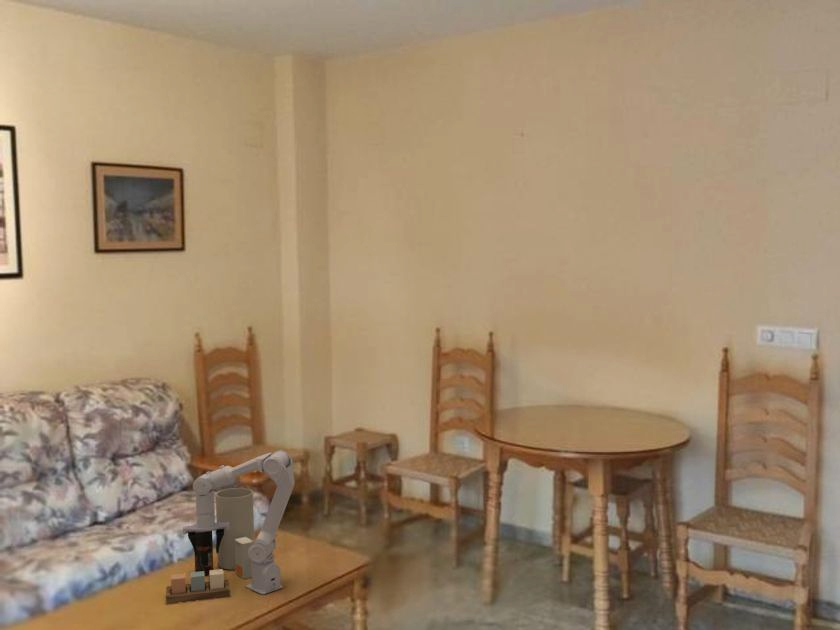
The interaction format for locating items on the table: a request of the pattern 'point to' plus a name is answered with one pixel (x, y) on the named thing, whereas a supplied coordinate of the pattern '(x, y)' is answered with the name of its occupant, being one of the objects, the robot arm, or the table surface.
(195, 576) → the slate blue key
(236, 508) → the cylinder vase
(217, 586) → the cream key
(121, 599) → the table surface
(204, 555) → the deodorant
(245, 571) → the skincare box
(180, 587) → the terracotta key
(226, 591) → the socket board
